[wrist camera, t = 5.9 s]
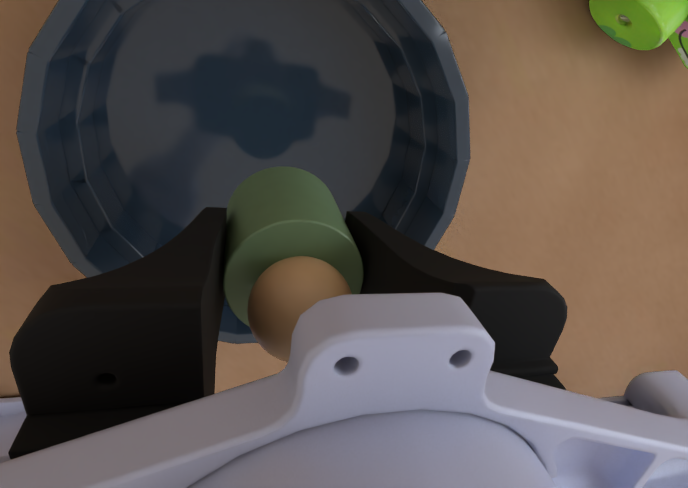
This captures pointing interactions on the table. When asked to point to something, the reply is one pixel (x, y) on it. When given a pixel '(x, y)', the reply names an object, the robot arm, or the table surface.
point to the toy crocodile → (644, 23)
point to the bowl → (236, 117)
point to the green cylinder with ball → (285, 253)
